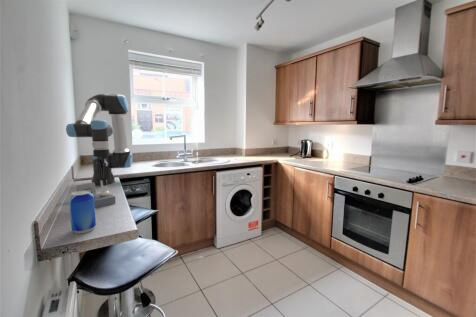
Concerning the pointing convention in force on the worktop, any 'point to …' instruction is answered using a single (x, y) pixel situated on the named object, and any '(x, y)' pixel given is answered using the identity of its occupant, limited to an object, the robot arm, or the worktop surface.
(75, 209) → the beer can
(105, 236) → the worktop surface
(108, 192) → the knob cream
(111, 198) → the mount block
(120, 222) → the worktop surface
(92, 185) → the electrical switch
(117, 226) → the worktop surface
